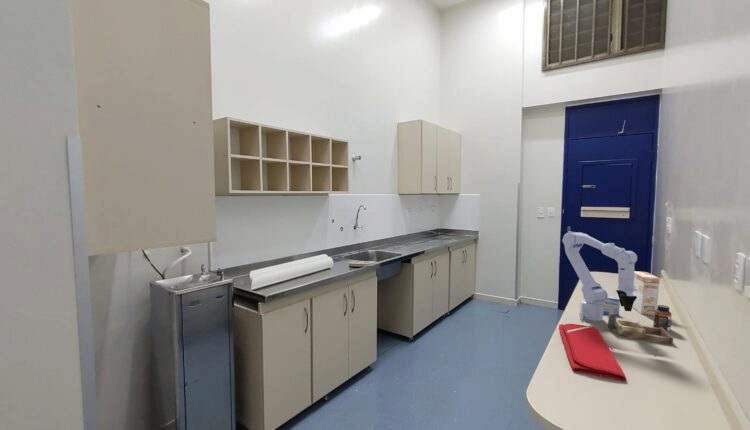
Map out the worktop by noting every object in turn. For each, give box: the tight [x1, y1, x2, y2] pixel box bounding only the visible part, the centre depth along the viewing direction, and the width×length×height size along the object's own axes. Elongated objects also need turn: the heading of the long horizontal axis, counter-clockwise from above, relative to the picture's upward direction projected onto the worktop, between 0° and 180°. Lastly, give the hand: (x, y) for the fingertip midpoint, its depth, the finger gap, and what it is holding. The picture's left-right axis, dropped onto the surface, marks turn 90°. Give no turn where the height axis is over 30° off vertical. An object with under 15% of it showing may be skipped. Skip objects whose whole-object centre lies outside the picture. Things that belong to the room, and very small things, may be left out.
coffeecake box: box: [632, 270, 661, 316], centre depth 181 cm, size 15×7×20 cm, turn 161°
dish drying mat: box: [558, 323, 628, 382], centre depth 133 cm, size 16×41×4 cm, turn 158°
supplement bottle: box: [652, 304, 673, 332], centre depth 154 cm, size 6×6×11 cm
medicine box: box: [603, 296, 621, 317], centre depth 175 cm, size 8×4×9 cm, turn 68°
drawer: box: [607, 313, 646, 337], centre depth 148 cm, size 12×9×8 cm
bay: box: [622, 325, 674, 346], centre depth 146 cm, size 19×16×4 cm
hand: (625, 308), depth 152 cm, fingers open, 7 cm apart
